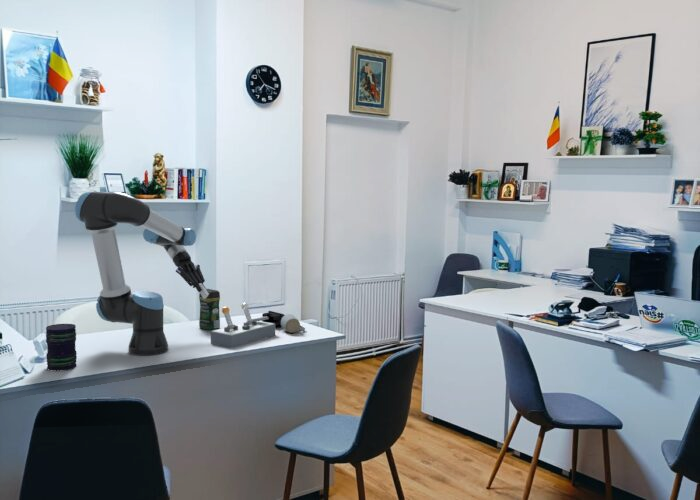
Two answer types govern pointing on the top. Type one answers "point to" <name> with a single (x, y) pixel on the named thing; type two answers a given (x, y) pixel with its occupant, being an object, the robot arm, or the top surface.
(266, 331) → the console
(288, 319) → the ceramic mug
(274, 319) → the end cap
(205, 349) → the top surface
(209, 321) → the coffee jar
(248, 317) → the silver ball lever
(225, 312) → the lever orange
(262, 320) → the rocker grey
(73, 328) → the storage jar
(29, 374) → the top surface
